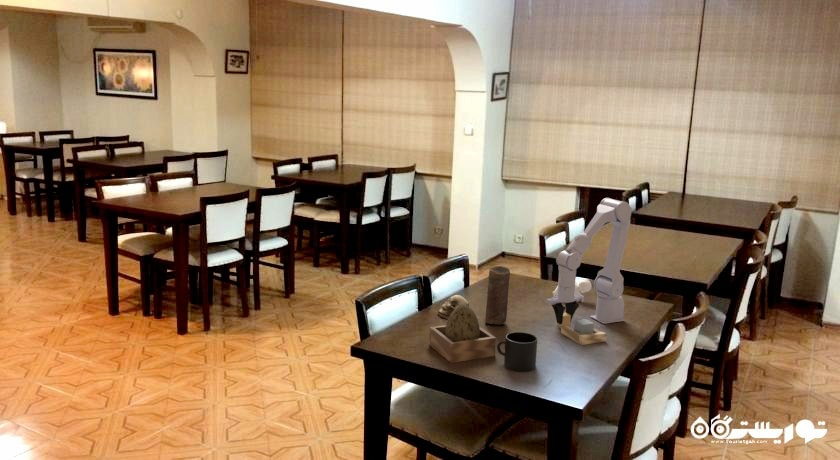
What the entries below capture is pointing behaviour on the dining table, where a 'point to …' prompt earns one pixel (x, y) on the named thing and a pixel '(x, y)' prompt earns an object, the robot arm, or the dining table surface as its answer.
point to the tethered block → (578, 324)
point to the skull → (452, 305)
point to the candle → (497, 295)
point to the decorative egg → (462, 324)
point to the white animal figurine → (578, 287)
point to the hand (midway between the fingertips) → (563, 322)
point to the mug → (519, 351)
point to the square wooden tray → (462, 345)
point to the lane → (584, 336)
